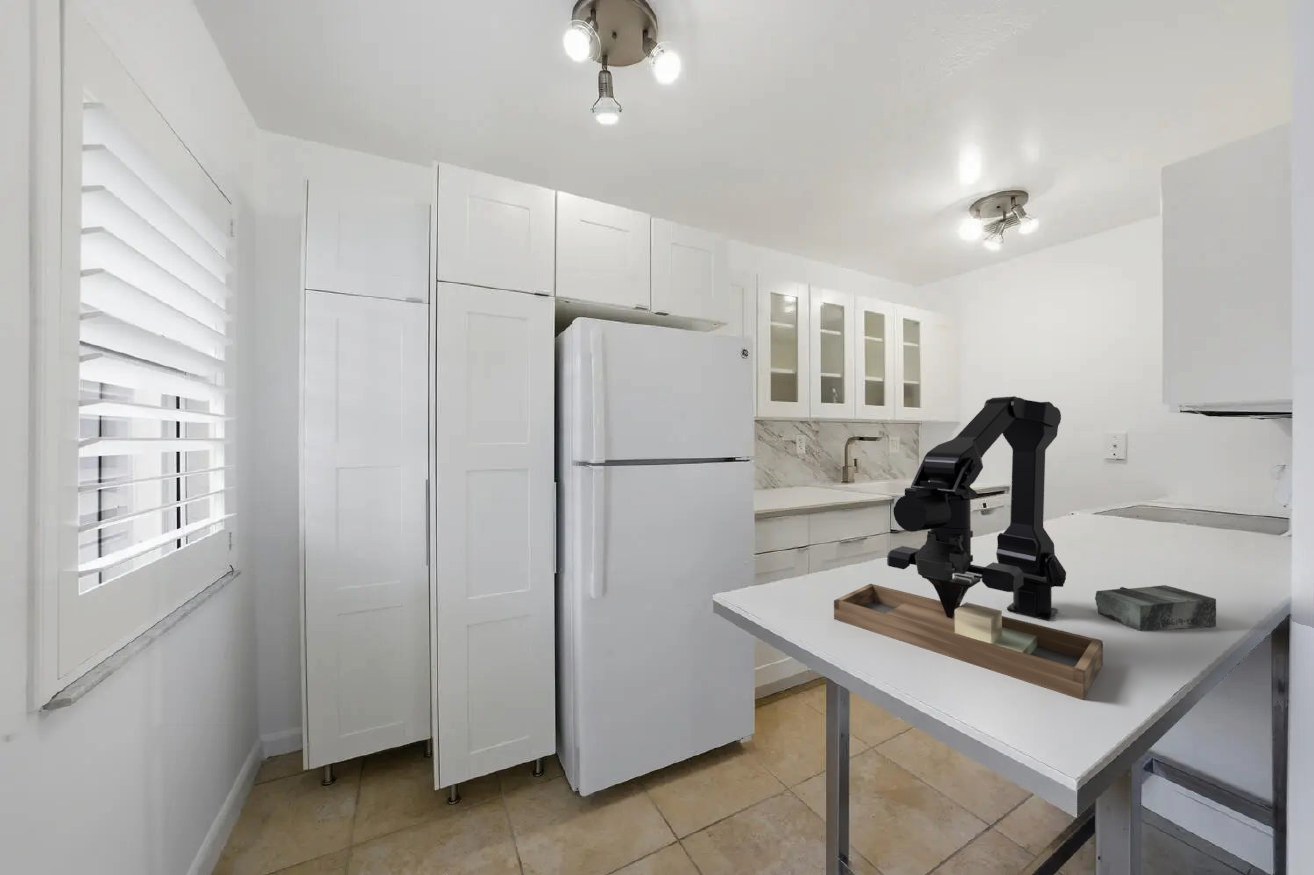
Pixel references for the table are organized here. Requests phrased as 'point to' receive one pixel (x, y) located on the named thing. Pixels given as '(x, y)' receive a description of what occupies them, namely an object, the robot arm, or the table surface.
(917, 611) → the tray
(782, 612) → the table surface
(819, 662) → the table surface
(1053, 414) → the robot arm
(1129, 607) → the stone block
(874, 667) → the table surface
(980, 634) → the beech block
